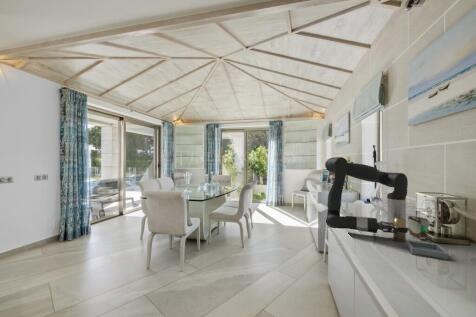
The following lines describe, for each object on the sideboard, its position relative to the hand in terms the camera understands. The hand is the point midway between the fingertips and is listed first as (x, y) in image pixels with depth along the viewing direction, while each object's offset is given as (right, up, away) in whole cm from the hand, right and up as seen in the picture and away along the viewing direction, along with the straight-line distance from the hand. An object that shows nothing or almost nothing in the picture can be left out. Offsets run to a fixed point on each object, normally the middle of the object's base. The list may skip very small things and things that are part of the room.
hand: (405, 229), depth 109 cm
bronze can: (-2, -6, +1) cm, 7 cm away
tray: (-2, -6, -14) cm, 15 cm away
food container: (+12, -7, +6) cm, 15 cm away
